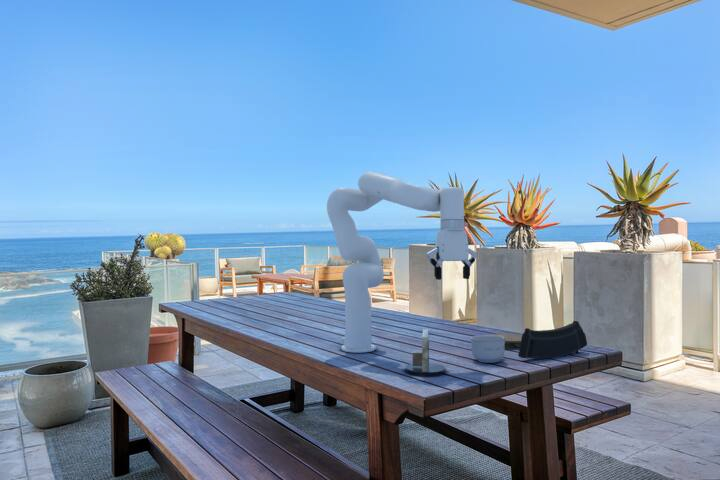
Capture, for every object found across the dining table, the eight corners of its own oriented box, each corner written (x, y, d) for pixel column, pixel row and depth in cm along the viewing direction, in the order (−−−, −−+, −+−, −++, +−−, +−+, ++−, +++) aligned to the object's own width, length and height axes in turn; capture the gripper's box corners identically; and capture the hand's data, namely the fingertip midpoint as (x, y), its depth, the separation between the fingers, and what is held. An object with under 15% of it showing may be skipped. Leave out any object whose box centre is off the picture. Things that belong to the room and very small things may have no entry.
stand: (397, 370, 152) (397, 366, 152) (425, 364, 160) (425, 361, 160) (425, 378, 143) (425, 374, 143) (454, 372, 150) (454, 368, 150)
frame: (411, 371, 145) (411, 337, 145) (413, 360, 159) (413, 329, 159) (428, 372, 144) (428, 337, 144) (429, 361, 158) (428, 329, 158)
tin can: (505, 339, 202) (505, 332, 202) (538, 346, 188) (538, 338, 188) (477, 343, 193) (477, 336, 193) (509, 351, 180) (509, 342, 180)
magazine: (519, 335, 161) (579, 302, 175) (512, 333, 164) (571, 302, 178) (531, 384, 163) (589, 348, 177) (523, 381, 166) (581, 346, 180)
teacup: (486, 366, 157) (486, 340, 157) (463, 359, 166) (463, 335, 167) (519, 361, 163) (519, 337, 163) (495, 355, 173) (495, 332, 173)
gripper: (470, 226, 167) (471, 277, 167) (422, 226, 162) (422, 279, 162) (482, 225, 160) (482, 279, 159) (431, 225, 155) (432, 280, 155)
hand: (452, 279), depth 161 cm, fingers open, 9 cm apart
